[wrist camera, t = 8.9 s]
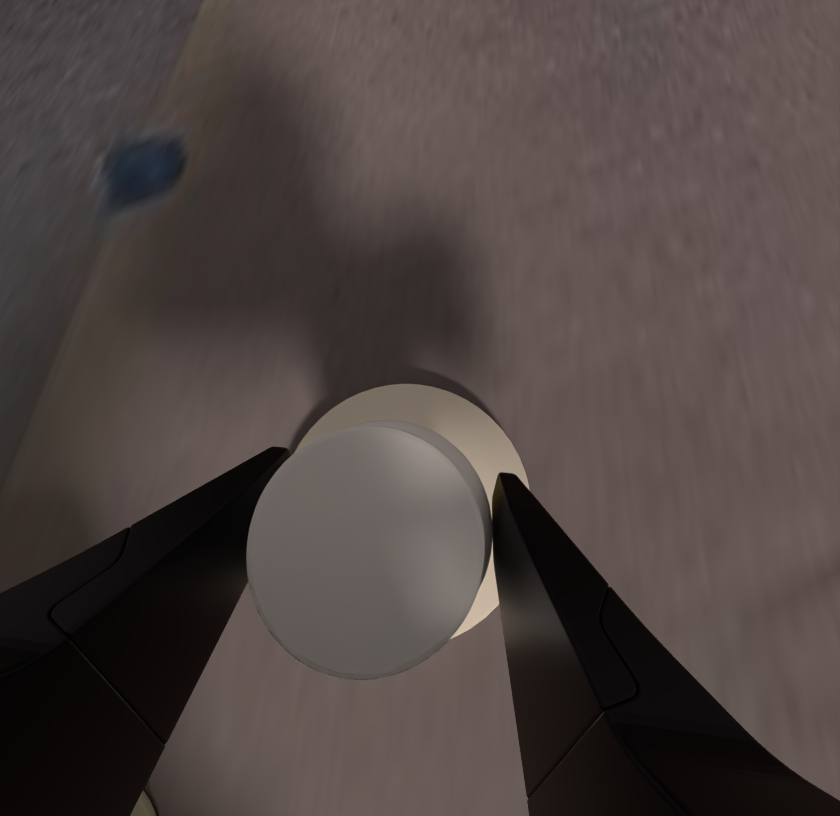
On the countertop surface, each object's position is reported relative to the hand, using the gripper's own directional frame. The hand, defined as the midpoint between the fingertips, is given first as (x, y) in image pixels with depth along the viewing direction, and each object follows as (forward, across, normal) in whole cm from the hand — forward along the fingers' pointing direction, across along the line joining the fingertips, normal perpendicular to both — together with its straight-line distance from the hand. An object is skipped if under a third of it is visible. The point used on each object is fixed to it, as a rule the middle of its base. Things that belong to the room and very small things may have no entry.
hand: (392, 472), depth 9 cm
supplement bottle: (+4, 0, +6) cm, 7 cm away
